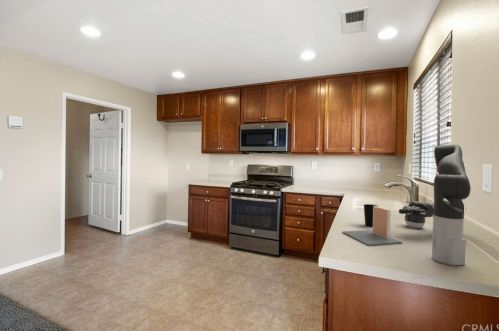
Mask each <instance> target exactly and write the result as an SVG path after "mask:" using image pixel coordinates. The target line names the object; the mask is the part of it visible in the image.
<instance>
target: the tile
mask: <svg viewBox="0 0 499 331" xmlns="http://www.w3.org/2000/svg"><path fill="white" fill-rule="evenodd" d="M391 212H392V210H391V209H389V208H385V207H382V206H379V205H377V206H373V227H372V230H373V233H374V234H377V235H379V236H381V237H384V238H386V239H390V237H391Z"/></svg>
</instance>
